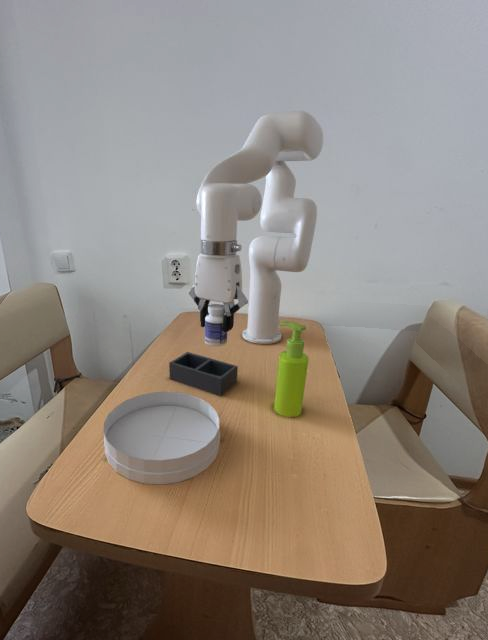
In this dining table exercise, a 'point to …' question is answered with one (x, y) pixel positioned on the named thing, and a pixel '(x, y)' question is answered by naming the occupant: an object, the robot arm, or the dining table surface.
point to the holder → (203, 373)
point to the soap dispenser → (291, 374)
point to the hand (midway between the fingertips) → (216, 327)
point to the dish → (161, 437)
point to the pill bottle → (215, 326)
